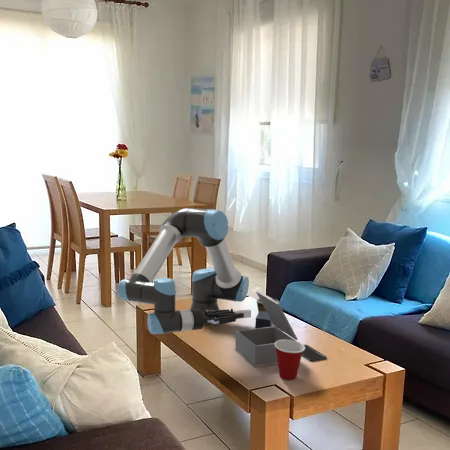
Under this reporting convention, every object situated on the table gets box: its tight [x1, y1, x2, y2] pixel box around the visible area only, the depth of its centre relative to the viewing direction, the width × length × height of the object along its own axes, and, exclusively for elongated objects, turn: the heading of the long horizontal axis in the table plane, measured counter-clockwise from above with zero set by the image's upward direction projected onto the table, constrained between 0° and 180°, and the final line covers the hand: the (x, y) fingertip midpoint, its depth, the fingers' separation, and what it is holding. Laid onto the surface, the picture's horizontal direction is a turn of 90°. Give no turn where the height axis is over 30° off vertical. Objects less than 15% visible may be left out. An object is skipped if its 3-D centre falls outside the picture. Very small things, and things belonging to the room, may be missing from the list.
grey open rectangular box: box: [234, 325, 297, 368], centre depth 219 cm, size 18×17×8 cm
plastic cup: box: [274, 340, 305, 381], centre depth 199 cm, size 11×11×12 cm
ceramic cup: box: [256, 298, 280, 313], centre depth 261 cm, size 13×10×10 cm
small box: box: [254, 311, 274, 329], centre depth 237 cm, size 11×6×10 cm, turn 168°
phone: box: [301, 344, 327, 363], centre depth 222 cm, size 8×1×15 cm
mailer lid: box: [255, 290, 299, 341], centre depth 219 cm, size 18×17×1 cm
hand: (250, 313), depth 214 cm, fingers closed
